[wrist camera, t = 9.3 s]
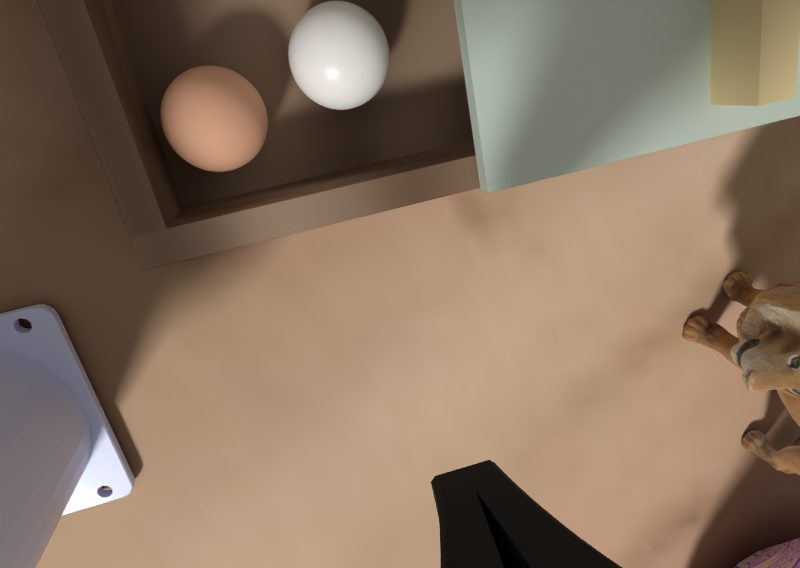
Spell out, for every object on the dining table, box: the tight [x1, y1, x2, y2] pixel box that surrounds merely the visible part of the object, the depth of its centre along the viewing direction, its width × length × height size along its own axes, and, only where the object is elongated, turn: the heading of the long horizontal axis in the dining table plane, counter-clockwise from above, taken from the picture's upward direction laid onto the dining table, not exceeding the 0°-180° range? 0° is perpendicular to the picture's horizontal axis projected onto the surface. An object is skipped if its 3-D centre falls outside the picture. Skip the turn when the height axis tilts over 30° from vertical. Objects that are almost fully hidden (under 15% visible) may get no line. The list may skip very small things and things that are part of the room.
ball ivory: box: [288, 1, 390, 110], centre depth 16 cm, size 3×3×3 cm
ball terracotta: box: [160, 65, 268, 172], centre depth 16 cm, size 3×3×3 cm
